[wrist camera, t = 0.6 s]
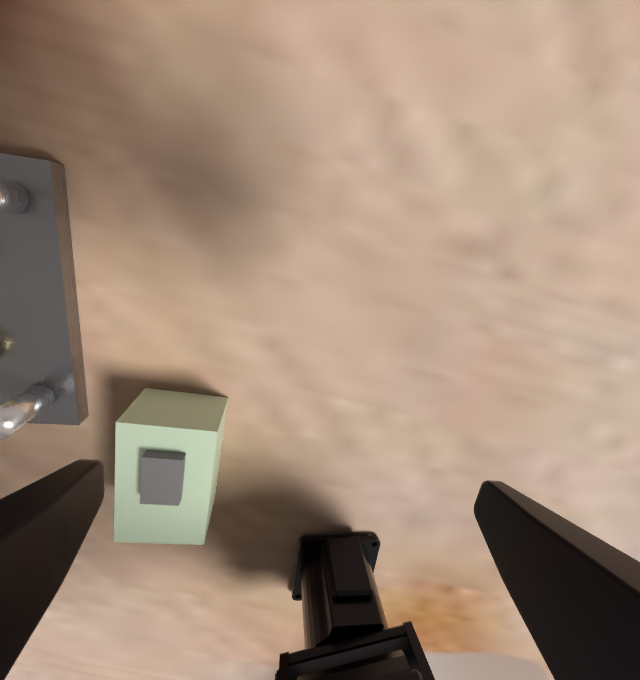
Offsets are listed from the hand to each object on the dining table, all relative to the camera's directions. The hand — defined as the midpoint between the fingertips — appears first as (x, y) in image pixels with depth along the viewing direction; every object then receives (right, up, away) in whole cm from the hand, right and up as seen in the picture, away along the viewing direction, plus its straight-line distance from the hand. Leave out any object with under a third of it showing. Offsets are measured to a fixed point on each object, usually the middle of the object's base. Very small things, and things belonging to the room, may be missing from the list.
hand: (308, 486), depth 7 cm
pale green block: (-9, -4, +14) cm, 17 cm away
